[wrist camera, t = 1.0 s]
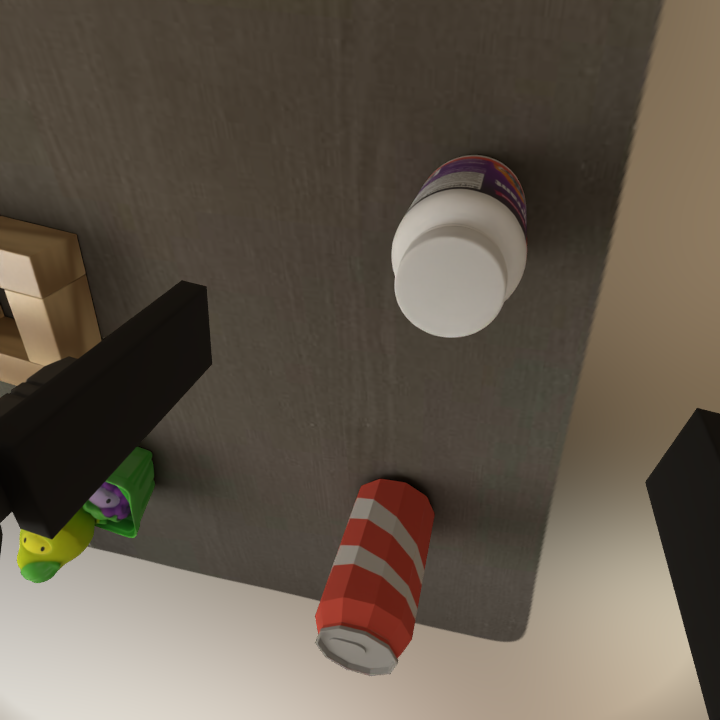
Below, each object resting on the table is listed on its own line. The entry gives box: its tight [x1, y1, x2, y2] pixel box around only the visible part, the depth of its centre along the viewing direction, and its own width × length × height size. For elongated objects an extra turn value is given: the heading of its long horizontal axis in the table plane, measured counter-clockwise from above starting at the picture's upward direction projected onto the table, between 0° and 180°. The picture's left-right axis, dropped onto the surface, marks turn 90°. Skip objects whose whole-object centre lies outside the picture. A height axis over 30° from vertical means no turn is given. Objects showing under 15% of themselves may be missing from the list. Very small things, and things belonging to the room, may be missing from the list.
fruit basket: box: [17, 447, 155, 583], centre depth 43 cm, size 11×9×11 cm
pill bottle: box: [391, 155, 527, 338], centre depth 21 cm, size 5×5×10 cm
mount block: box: [0, 216, 102, 386], centre depth 36 cm, size 12×12×4 cm
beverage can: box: [315, 479, 435, 676], centre depth 35 cm, size 6×6×12 cm
